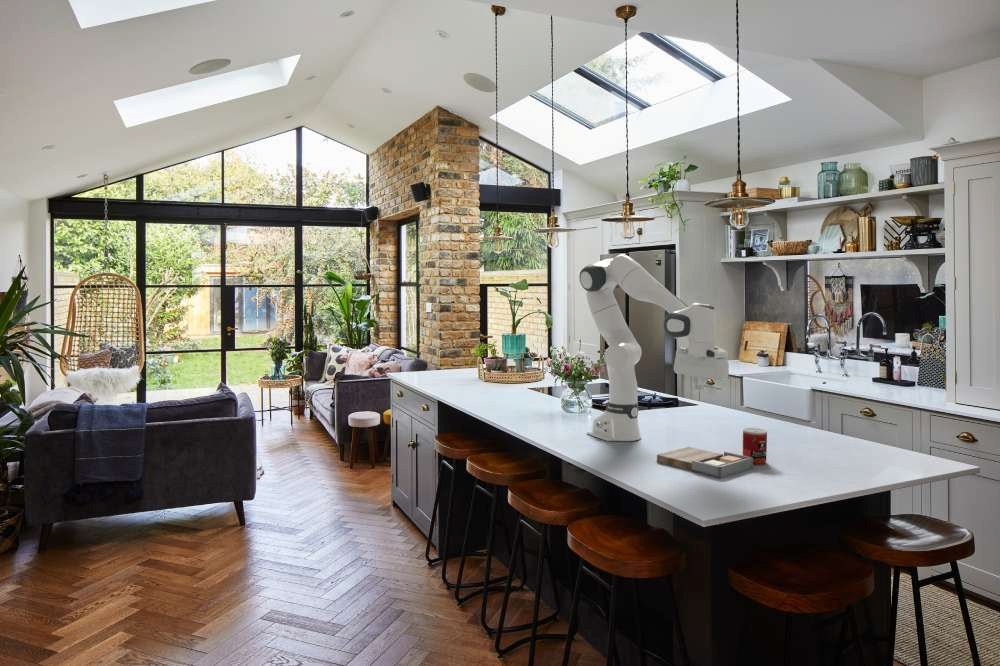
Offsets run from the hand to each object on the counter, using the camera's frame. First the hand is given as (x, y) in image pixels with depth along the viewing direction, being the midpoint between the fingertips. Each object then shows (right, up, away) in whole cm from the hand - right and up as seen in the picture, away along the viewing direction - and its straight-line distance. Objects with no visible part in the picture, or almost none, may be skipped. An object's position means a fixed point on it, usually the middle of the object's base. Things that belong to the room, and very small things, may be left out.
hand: (699, 389), depth 228 cm
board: (-4, -25, -1) cm, 25 cm away
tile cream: (+1, -25, -14) cm, 29 cm away
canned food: (+19, -25, -2) cm, 31 cm away
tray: (+4, -25, -11) cm, 28 cm away
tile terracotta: (+8, -25, -9) cm, 27 cm away
